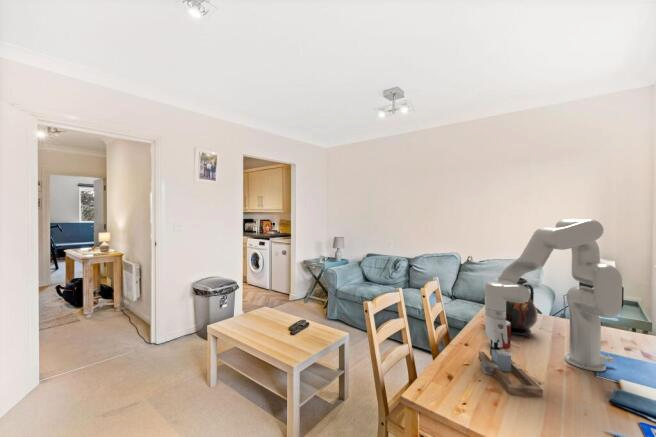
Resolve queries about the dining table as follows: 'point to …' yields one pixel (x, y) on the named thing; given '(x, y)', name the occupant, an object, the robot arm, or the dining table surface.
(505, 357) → the block
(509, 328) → the canned food
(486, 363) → the beam slot
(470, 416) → the dining table surface
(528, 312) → the amphora vase
